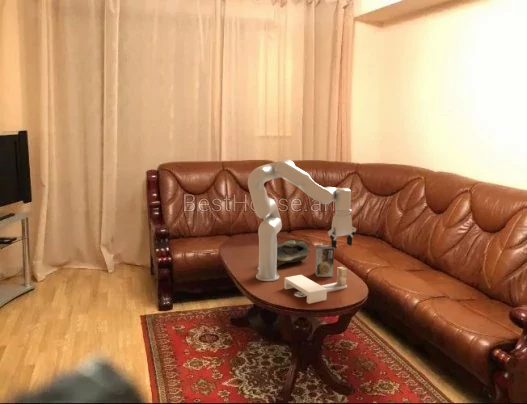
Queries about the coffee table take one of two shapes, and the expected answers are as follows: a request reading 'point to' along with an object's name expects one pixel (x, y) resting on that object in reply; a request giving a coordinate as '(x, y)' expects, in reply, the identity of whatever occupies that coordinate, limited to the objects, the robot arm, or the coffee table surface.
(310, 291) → the cream flanged plate
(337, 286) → the white-handled mallet
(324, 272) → the coffee box
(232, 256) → the coffee table surface
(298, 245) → the hollow geode rock
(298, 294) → the token
